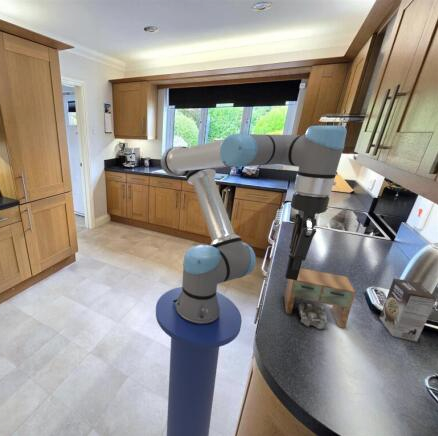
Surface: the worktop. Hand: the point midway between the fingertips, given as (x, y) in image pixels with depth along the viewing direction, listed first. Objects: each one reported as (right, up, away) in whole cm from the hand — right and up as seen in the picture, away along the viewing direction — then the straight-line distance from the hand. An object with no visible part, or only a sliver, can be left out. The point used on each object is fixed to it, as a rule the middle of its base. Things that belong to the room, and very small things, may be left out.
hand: (290, 277), depth 66 cm
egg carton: (+18, -19, +18) cm, 32 cm away
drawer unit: (+20, -18, +21) cm, 34 cm away
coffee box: (+43, -21, +13) cm, 49 cm away
